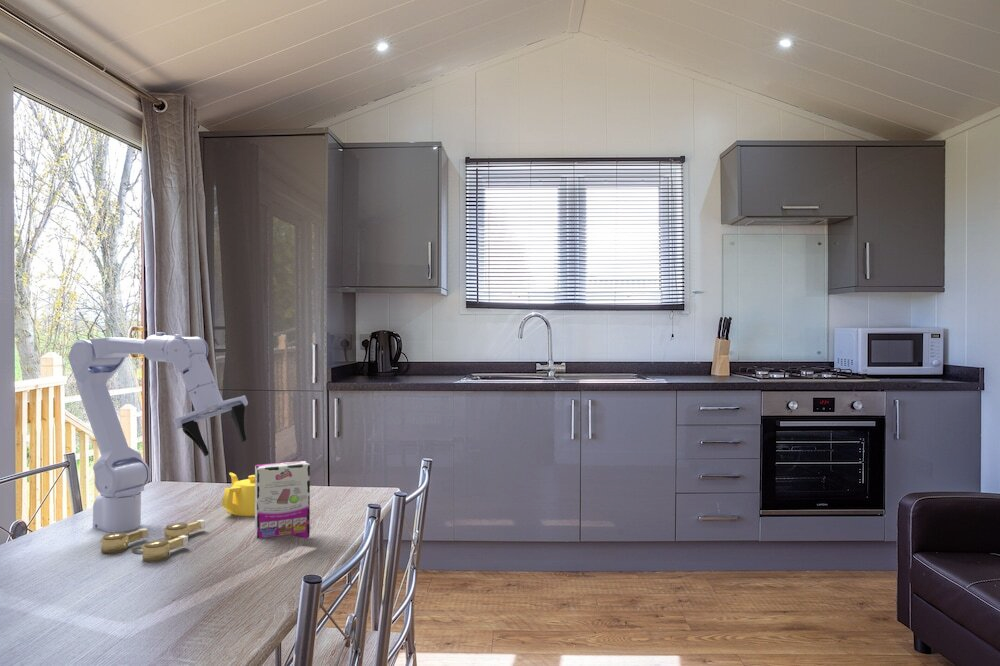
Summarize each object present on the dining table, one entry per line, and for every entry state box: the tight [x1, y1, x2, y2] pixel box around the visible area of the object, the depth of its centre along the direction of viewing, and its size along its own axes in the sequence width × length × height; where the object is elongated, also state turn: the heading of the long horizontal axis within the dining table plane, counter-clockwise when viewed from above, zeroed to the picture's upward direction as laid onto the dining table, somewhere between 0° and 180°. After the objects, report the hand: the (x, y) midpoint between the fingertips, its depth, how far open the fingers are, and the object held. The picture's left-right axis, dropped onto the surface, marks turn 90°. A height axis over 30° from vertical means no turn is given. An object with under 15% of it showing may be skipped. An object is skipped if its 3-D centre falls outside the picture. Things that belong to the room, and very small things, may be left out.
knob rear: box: [163, 519, 206, 541], centre depth 138 cm, size 9×5×3 cm, turn 158°
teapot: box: [221, 472, 255, 517], centre depth 160 cm, size 14×13×10 cm
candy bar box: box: [254, 460, 311, 539], centre depth 142 cm, size 11×5×16 cm, turn 118°
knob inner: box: [100, 527, 149, 555], centre depth 131 cm, size 9×5×3 cm, turn 158°
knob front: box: [141, 535, 189, 563], centre depth 127 cm, size 9×5×3 cm, turn 158°
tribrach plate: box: [131, 543, 144, 555], centre depth 131 cm, size 22×21×2 cm
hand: (225, 447), depth 135 cm, fingers open, 7 cm apart
